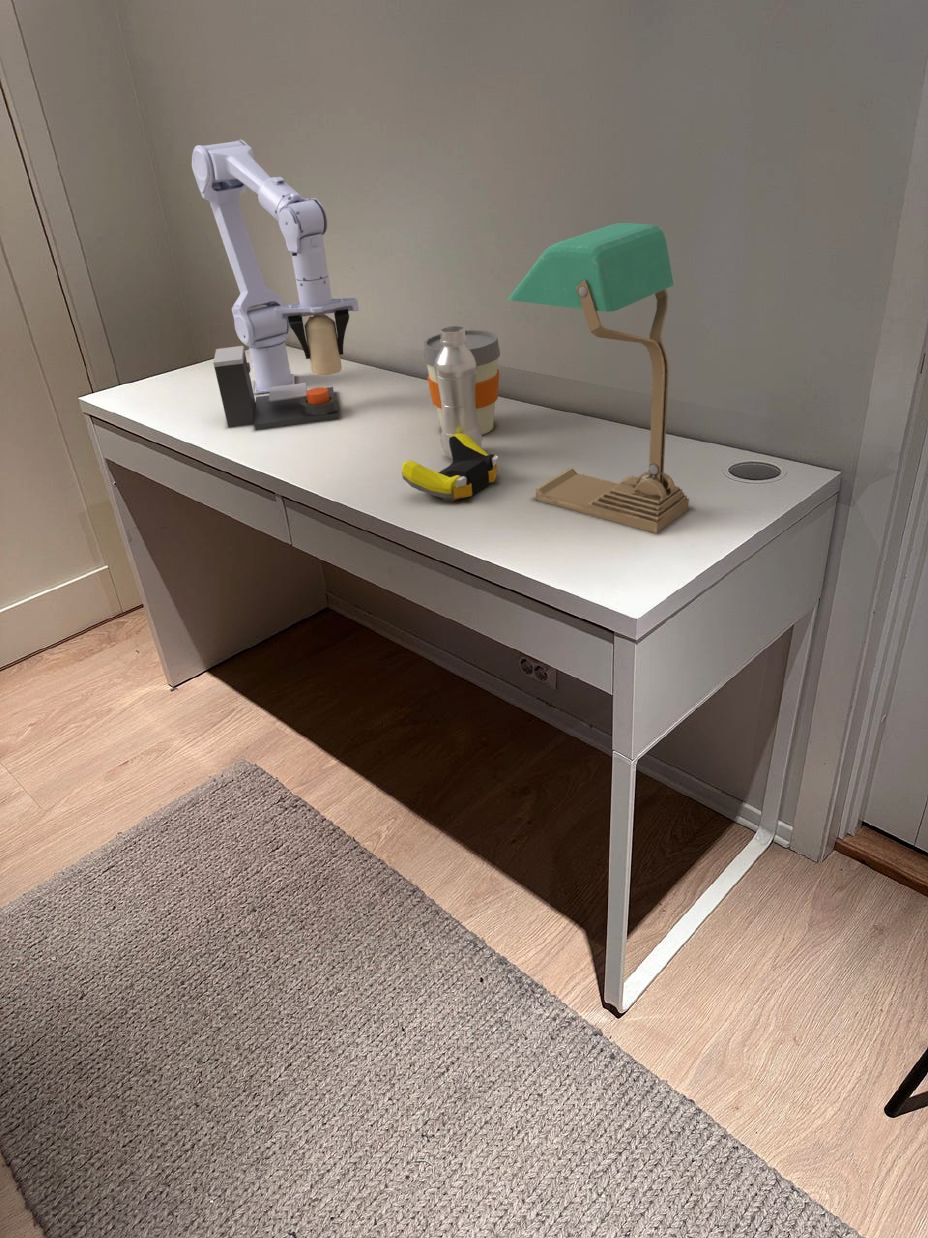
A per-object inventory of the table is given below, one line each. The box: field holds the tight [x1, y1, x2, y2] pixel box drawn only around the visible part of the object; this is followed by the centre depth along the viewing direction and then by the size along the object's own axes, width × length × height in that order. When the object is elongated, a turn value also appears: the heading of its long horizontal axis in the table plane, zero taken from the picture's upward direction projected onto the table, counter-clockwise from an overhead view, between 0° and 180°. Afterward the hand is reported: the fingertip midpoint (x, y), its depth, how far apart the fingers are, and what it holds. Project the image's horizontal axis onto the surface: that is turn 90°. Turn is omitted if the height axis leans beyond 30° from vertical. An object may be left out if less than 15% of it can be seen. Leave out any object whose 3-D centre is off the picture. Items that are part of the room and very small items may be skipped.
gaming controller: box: [401, 433, 499, 502], centre depth 129 cm, size 15×6×10 cm
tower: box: [212, 345, 308, 428], centre depth 162 cm, size 10×15×12 cm
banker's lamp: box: [507, 222, 690, 534], centre depth 112 cm, size 16×21×35 cm
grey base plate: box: [253, 386, 340, 431], centre depth 164 cm, size 16×15×3 cm
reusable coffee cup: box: [423, 329, 501, 436], centre depth 146 cm, size 13×13×15 cm
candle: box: [303, 314, 343, 376], centre depth 158 cm, size 6×6×10 cm
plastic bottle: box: [434, 325, 483, 459], centre depth 135 cm, size 6×7×20 cm
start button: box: [306, 386, 330, 404], centre depth 159 cm, size 4×4×2 cm
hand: (324, 355), depth 160 cm, fingers closed on candle, 5 cm apart
